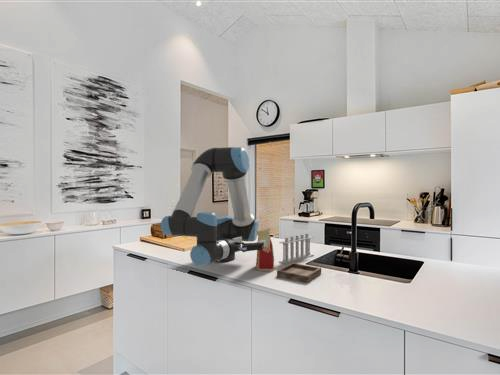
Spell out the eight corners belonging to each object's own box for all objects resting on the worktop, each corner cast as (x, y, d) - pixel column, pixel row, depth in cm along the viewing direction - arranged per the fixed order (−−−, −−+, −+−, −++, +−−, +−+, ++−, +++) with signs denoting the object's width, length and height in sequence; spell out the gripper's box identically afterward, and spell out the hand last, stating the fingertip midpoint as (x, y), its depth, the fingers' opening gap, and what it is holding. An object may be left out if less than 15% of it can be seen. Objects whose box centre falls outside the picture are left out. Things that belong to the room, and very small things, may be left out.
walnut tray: (276, 276, 133) (277, 270, 133) (292, 268, 146) (292, 262, 145) (307, 283, 125) (307, 276, 125) (321, 273, 137) (321, 268, 137)
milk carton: (272, 265, 151) (272, 226, 150) (274, 270, 142) (274, 229, 141) (254, 265, 151) (254, 226, 150) (255, 271, 141) (255, 229, 141)
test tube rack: (285, 264, 152) (285, 239, 152) (279, 262, 156) (279, 237, 155) (313, 256, 169) (313, 233, 169) (307, 254, 173) (307, 232, 172)
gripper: (201, 254, 127) (232, 245, 145) (248, 263, 113) (276, 252, 130) (201, 236, 127) (232, 230, 145) (248, 243, 113) (276, 235, 130)
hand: (253, 241), depth 137 cm, fingers open, 13 cm apart
